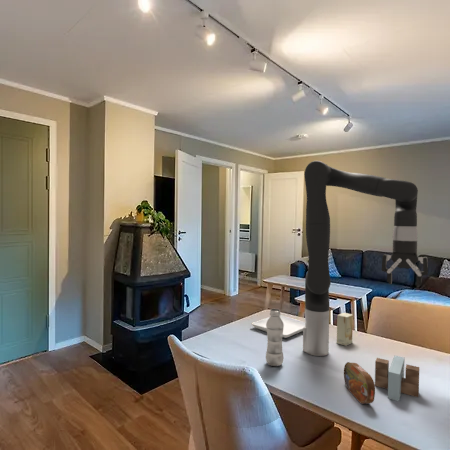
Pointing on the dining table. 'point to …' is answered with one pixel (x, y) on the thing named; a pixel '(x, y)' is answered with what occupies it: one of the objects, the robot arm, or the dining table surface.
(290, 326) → the salad plate
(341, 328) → the skincare box
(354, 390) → the tin
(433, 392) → the dining table surface
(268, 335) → the plastic bottle
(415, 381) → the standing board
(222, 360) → the dining table surface
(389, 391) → the cross plate
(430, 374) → the dining table surface
